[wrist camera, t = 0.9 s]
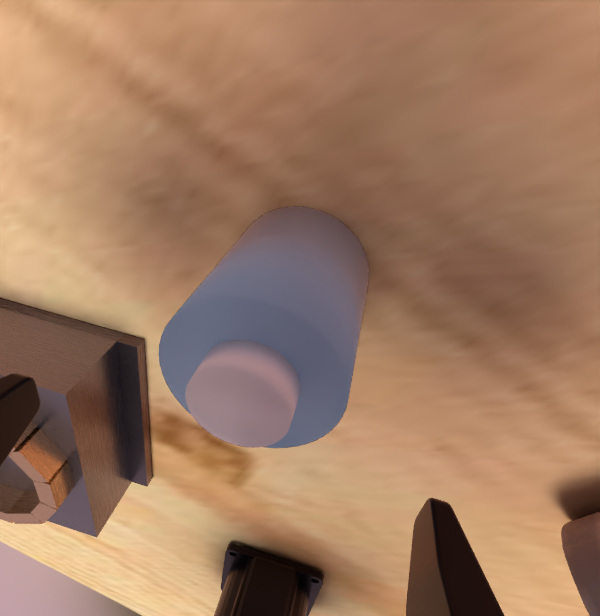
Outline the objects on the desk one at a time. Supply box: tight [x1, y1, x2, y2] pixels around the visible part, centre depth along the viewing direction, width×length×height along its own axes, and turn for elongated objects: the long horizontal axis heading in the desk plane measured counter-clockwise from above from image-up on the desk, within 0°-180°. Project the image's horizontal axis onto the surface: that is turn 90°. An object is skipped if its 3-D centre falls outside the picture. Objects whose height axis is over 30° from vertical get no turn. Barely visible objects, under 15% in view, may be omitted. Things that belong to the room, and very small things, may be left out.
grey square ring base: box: [0, 298, 152, 537], centre depth 21 cm, size 11×11×5 cm
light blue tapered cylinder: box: [159, 206, 369, 448], centre depth 13 cm, size 5×5×7 cm
